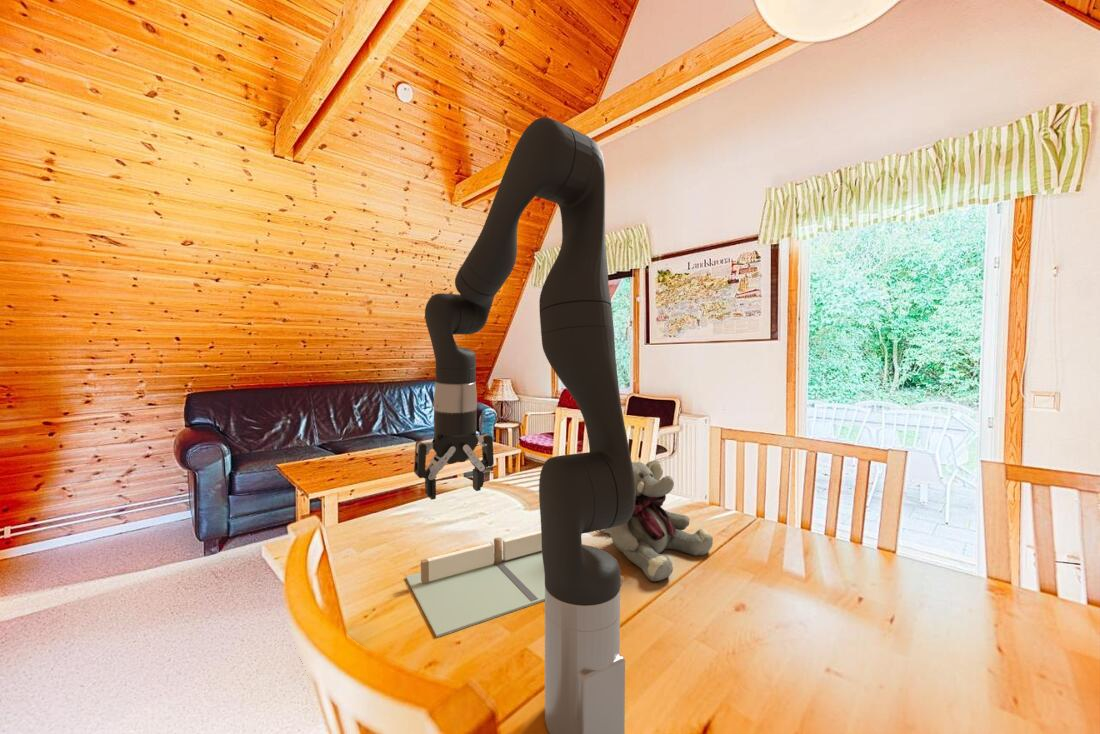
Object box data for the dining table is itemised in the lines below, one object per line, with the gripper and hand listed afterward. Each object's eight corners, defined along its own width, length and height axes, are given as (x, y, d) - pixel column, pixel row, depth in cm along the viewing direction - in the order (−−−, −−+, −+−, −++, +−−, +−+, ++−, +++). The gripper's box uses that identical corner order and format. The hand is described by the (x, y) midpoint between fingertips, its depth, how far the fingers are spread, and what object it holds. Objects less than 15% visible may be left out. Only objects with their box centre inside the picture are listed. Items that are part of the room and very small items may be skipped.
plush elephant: (725, 557, 97) (726, 463, 96) (657, 589, 85) (659, 482, 83) (634, 518, 119) (635, 442, 118) (570, 539, 106) (570, 454, 105)
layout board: (602, 580, 87) (602, 578, 87) (436, 637, 71) (436, 634, 71) (548, 540, 105) (548, 538, 105) (405, 578, 89) (405, 575, 89)
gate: (491, 561, 94) (491, 542, 94) (493, 563, 93) (493, 544, 93) (421, 580, 86) (420, 560, 86) (422, 583, 85) (422, 562, 85)
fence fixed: (559, 549, 101) (559, 525, 101) (496, 567, 93) (495, 541, 93) (555, 546, 102) (555, 523, 102) (493, 564, 94) (492, 538, 94)
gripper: (422, 414, 73) (422, 509, 74) (500, 407, 80) (499, 493, 82) (409, 406, 79) (410, 493, 81) (483, 400, 87) (482, 480, 88)
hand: (455, 493), depth 81 cm, fingers open, 8 cm apart
